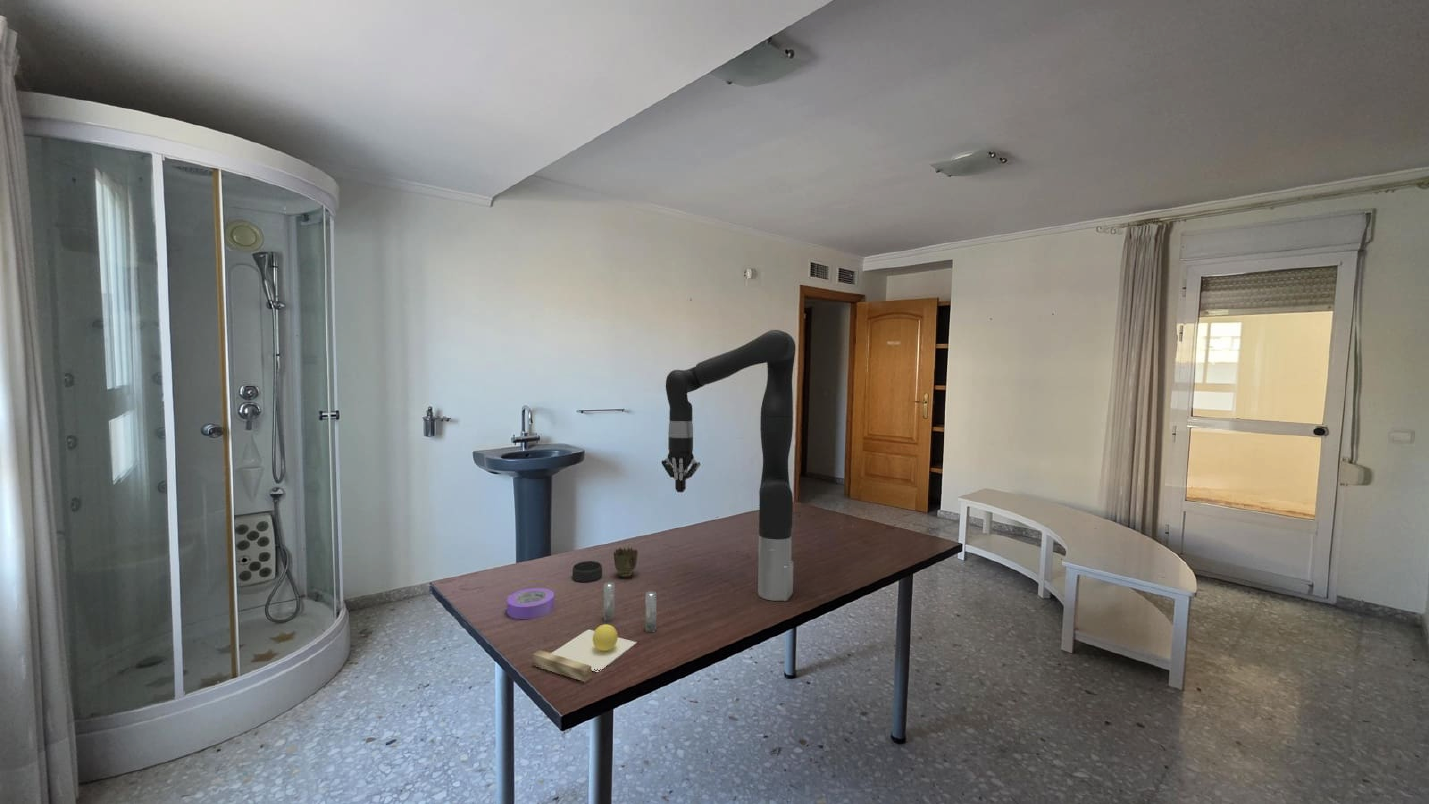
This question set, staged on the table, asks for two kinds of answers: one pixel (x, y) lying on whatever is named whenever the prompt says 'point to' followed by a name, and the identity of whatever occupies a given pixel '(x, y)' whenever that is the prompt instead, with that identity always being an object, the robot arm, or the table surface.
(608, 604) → the post left
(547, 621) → the table surface
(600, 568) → the smart speaker
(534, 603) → the masking tape
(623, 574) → the cup
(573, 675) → the strip
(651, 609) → the post right
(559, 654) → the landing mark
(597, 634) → the ball
